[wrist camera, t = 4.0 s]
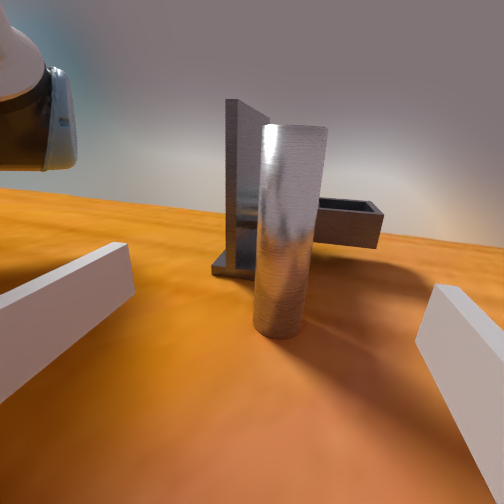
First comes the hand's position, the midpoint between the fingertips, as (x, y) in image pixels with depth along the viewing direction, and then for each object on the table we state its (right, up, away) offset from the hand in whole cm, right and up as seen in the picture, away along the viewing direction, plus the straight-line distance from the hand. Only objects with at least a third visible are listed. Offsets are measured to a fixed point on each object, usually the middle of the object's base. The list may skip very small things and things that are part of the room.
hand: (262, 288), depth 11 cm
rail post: (+2, -5, +12) cm, 13 cm away
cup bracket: (+6, +1, +27) cm, 27 cm away
